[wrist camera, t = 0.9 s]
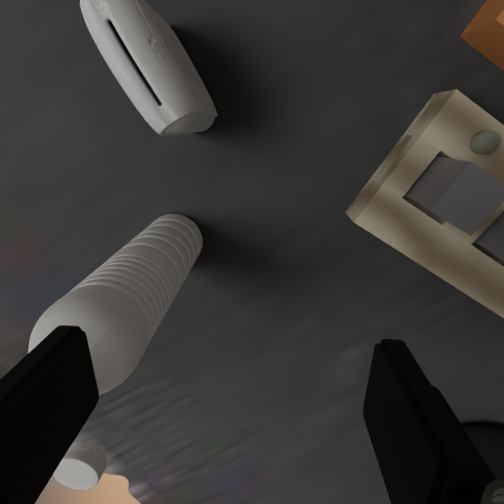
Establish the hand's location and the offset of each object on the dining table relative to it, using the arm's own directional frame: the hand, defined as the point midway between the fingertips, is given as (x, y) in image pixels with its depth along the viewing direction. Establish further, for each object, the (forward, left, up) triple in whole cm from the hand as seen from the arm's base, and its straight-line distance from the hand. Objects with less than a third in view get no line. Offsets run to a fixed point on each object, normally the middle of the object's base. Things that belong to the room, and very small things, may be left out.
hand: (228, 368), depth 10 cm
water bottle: (+10, -5, -27) cm, 30 cm away
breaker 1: (-11, +14, -24) cm, 30 cm away
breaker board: (-11, +23, -27) cm, 37 cm away
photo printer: (-6, -13, -28) cm, 31 cm away
